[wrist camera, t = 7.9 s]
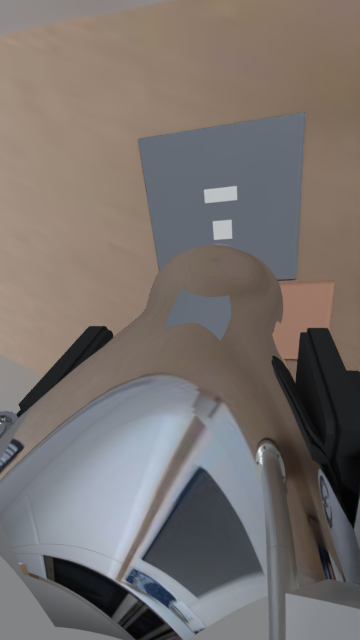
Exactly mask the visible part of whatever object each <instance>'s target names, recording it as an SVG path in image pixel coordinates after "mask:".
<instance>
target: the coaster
mask: <svg viewBox="0 0 360 640" xmlns="http://www.w3.org/2000/svg"><path fill="white" fill-rule="evenodd" d="M334 284H335V283H334V282H333V281H325V282H302V283H279V285H280V287H281V290H282V294H283V300H284V317H283V324H282V329H281V333H280V337H279V341H278V343H279V347H280V351H281V353H282V355H283V358H284V359H298V350H299V339H300V333H301V332H307V329H308V328H328V329H329V326H330V318H331V309H332V301H333V292H334Z"/></svg>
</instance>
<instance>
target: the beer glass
mask: <svg viewBox="0 0 360 640" xmlns="http://www.w3.org/2000/svg"><path fill="white" fill-rule="evenodd" d="M283 317H284V300H283V294H282V290H281V287H280V285H279V283H278V281H277V279H276V277H275V276H274V274H273V273H272V271H271V270H270V269H269V268H268V267H267V266H266V265H265V264H264V263H263V262H262V261H261V260H260V259H258V258H257V257H255V256H254V255H252V254H251V253H249V252H247V251H245V250H242V249H240V248H237V247H233V246H229V245H223V244H205V245H199V246H195V247H192V248H189V249H186V250H184V251H182V252H180V253H178V254H177V255H175V256H174V257H172V258H171V259H170V260H169V261H168V262H167V263H166V264H165V265H164V266H163V267H162V268H161V270H160V271H159V273H158V274H157V276H156V278H155V280H154V282H153V285H152V288H151V291H150V294H149V298H148V302H147V306H146V309H145V310H144V311H143V312H142V314H141V315H140V316H139V317H137V318H136V319H135V320H134V321H133V322H131V323H130V324H129V325H128V326H127V327H125V328H124V329H123V330H122V331H120V332H119V333H118V334H116V335H115V336H114V337H113V338H111V339H110V340H109V341H107V342H106V343H105V344H104V345H102V346H101V347H100V348H99V349H97V350H96V351H95V352H94V353H92V354H91V355H90V356H89V357H87V358H86V359H85V360H84V361H82V362H81V363H80V364H79V365H78V366H76V367H75V368H74V369H73V370H71V371H70V372H69V373H68V374H66V375H65V376H64V377H63V378H62V379H61V380H60V381H59V382H58V383H57V384H55V385H54V386H53V387H52V388H51V389H50V390H49V391H48V392H47V393H45V394H44V395H43V396H42V397H41V398H40V399H39V400H38V401H37V402H36V403H34V404H33V405H32V406H31V407H30V408H29V409H28V410H27V411H26V412H24V413H23V414H22V415H21V416H20V417H19V418H18V419H17V420H16V421H15V422H14V423H13V424H12V425H11V426H10V427H9V428H8V429H7V430H6V431H5V432H4V433H3V434H2V435H1V437H0V640H286V593H288V592H291V591H294V590H296V589H299V588H302V587H305V586H308V585H311V584H314V583H318V582H321V581H324V580H328V579H332V580H337V581H342V582H347V583H352V584H357V585H360V548H359V545H358V542H357V538H356V535H355V531H354V523H353V520H352V518H351V515H350V513H349V510H348V507H347V505H346V502H345V500H344V497H343V495H342V492H341V489H340V487H339V484H338V482H337V479H336V476H335V474H334V471H333V469H332V466H331V464H330V461H329V458H328V456H327V453H326V451H325V448H324V446H323V443H322V441H321V439H320V436H319V434H318V432H317V430H316V428H315V425H314V423H313V421H312V419H311V417H310V414H309V412H308V410H307V408H306V406H305V403H304V401H303V399H302V397H301V395H300V393H299V390H298V388H297V386H296V384H295V382H294V380H293V378H292V376H291V374H290V371H289V369H288V367H287V365H286V363H285V360H284V358H283V355H282V353H281V351H280V347H279V343H278V341H279V337H280V333H281V329H282V324H283Z"/></svg>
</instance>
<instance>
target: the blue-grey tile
mask: <svg viewBox="0 0 360 640" xmlns="http://www.w3.org/2000/svg"><path fill="white" fill-rule="evenodd" d="M304 126H305V112H302V113H296V114H290V115H284V116H277V117H271V118H265V119H259V120H252V121H246V122H240V123H234V124H228V125H221V126H215V127H209V128H203V129H196V130H190V131H184V132H178V133H171V134H165V135H159V136H153V137H147V138H140V139H138V142H139V148H140V154H141V160H142V167H143V173H144V179H145V185H146V191H147V197H148V204H149V210H150V216H151V222H152V228H153V235H154V241H155V247H156V253H157V259H158V266H159V271H160V270H161V268H162V267H163V266H164V265H165V264H166V263H167V262H168V261H169V260H170V259H171V258H172V257H174V256H175V255H177V254H178V253H180V252H182V251H184V250H186V249H189V248H192V247H195V246H199V245H205V244H223V245H229V246H233V247H237V248H240V249H242V250H245V251H247V252H249V253H251V254H252V255H254V256H255V257H257V258H258V259H260V260H261V261H262V262H263V263H264V264H265V265H266V266H267V267H268V268H269V269H270V270H271V271H272V273H273V274H274V276H275V277H276V279H277V280H282V279H296V271H297V253H298V235H299V217H300V199H301V180H302V162H303V144H304Z"/></svg>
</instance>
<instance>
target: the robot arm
mask: <svg viewBox="0 0 360 640" xmlns="http://www.w3.org/2000/svg"><path fill="white" fill-rule="evenodd" d="M111 338H113V333H112V331H110V330H108V329H107V327H105V326H90V327H88V328H87V329H86V330H85V331H84V333H83V334H82V335H81V336H80V337H79V338H78V339H77V340H76V341H75V342H74V344H73V345H72V346H71V347H70V348H69V349H68V350H67V351H66V352H65V354H64V355H63V356H62V357H61V358H60V359H59V360H58V361H57V362H56V363H55V365H54V366H53V367H52V368H51V369H50V370H49V371H48V372H47V373H46V374H45V376H44V377H43V378H42V379H41V380H40V381H39V382H38V383H37V384H36V386H35V387H34V388H33V389H32V390H31V391H30V392H29V393H28V394H27V395H26V397H25V398H24V399H23V400H22V401H21V402H20V404H19V406H20V409H21V410H20V411H19V412H18V413H17V414H15V413H13V412H9V411H1V412H0V437H1V435H2V434H3V433H4V432H5V431H6V430H7V429H8V428H9V427H10V426H11V425H12V424H13V423H14V422H15V421H16V420H17V419H18V418H19V417H20V416H21V415H22V414H23V413H24V412H26V411H27V410H28V409H29V408H30V407H31V406H32V405H33V404H34V403H36V402H37V401H38V400H39V399H40V398H41V397H42V396H43V395H44V394H45V393H47V392H48V391H49V390H50V389H51V388H52V387H53V386H54V385H55V384H57V383H58V382H59V381H60V380H61V379H62V378H63V377H64V376H65V375H66V374H68V373H69V372H70V371H71V370H73V369H74V368H75V367H76V366H78V365H79V364H80V363H81V362H82V361H84V360H85V359H86V358H87V357H89V356H90V355H91V354H92V353H94V352H95V351H96V350H97V349H99V348H100V347H101V346H102V345H104V344H105V343H106V342H107V341H109V340H110V339H111ZM295 384H296V386H297V388H298V390H299V393H300V395H301V397H302V399H303V401H304V403H305V406H306V408H307V410H308V412H309V414H310V417H311V419H312V421H313V423H314V425H315V428H316V430H317V432H318V434H319V436H320V439H321V441H322V443H323V446H324V448H325V451H326V453H327V456H328V458H329V461H330V464H331V466H332V469H333V471H334V474H335V476H336V479H337V482H338V484H339V487H340V489H341V492H342V495H343V497H344V500H345V502H346V505H347V507H348V510H349V513H350V515H351V518H352V520H353V523H354V531H355V535H356V538H357V542H358V545H359V548H360V372H359V371H346V369H345V366H344V364H343V362H342V359H341V357H340V355H339V352H338V350H337V348H336V346H335V343H334V341H333V339H332V336H331V334H330V332H329V329H328V328H308V329H307V332H301V333H300V339H299V350H298V361H297V372H296V383H295ZM286 640H360V585H357V584H352V583H347V582H342V581H337V580H332V579H328V580H324V581H321V582H318V583H314V584H311V585H308V586H305V587H302V588H299V589H296V590H294V591H291V592H288V593H286Z"/></svg>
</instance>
